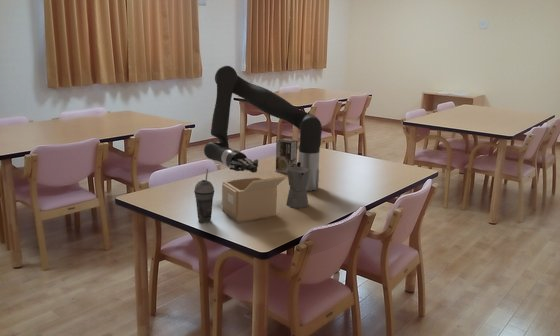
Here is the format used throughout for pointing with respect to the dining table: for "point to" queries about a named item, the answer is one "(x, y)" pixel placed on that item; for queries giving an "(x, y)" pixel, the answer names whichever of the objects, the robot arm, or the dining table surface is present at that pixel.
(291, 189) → the coffeepot
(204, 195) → the beverage cup
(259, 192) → the carton
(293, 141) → the coffee box
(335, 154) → the dining table surface
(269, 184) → the flap
